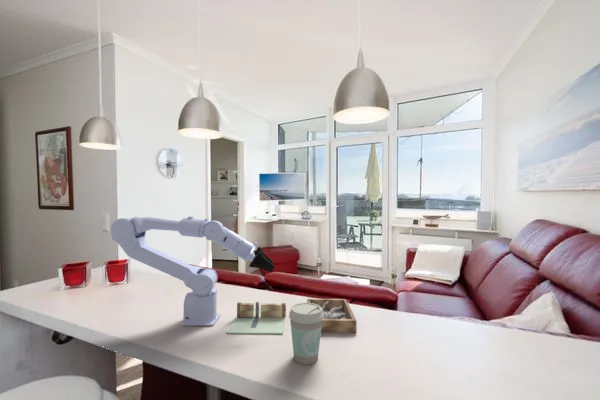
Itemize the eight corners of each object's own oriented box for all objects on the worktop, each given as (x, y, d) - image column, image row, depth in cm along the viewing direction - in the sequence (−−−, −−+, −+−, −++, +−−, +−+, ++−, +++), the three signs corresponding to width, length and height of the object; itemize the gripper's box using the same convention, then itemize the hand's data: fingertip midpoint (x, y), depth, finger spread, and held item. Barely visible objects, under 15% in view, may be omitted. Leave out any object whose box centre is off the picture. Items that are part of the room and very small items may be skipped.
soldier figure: (350, 322, 87) (331, 322, 79) (339, 330, 89) (319, 331, 80) (339, 300, 92) (320, 298, 84) (329, 308, 94) (309, 306, 85)
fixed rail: (236, 317, 86) (236, 302, 86) (237, 316, 88) (237, 301, 88) (258, 318, 86) (258, 303, 86) (259, 316, 88) (259, 301, 88)
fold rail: (260, 317, 86) (260, 304, 86) (261, 315, 88) (261, 302, 88) (285, 317, 86) (285, 304, 86) (285, 315, 88) (285, 302, 88)
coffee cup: (296, 372, 59) (297, 317, 60) (283, 352, 67) (284, 304, 67) (330, 363, 63) (330, 311, 63) (313, 345, 71) (314, 300, 71)
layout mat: (226, 333, 77) (226, 332, 77) (240, 309, 95) (240, 308, 95) (282, 334, 76) (282, 332, 76) (286, 309, 94) (286, 308, 94)
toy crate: (308, 332, 78) (308, 320, 78) (307, 308, 96) (307, 298, 96) (356, 332, 78) (356, 320, 78) (345, 308, 96) (346, 299, 96)
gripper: (243, 236, 80) (280, 260, 82) (245, 232, 95) (277, 253, 96) (229, 256, 79) (268, 280, 81) (234, 249, 94) (266, 270, 95)
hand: (272, 267), depth 88 cm, fingers open, 7 cm apart
